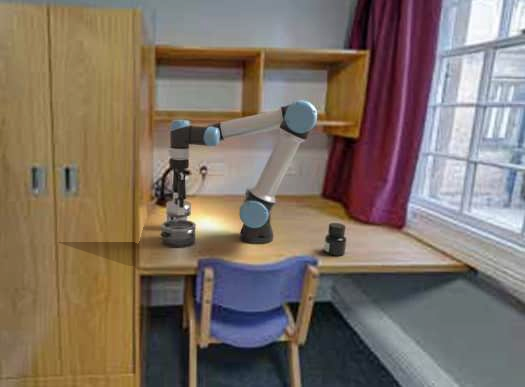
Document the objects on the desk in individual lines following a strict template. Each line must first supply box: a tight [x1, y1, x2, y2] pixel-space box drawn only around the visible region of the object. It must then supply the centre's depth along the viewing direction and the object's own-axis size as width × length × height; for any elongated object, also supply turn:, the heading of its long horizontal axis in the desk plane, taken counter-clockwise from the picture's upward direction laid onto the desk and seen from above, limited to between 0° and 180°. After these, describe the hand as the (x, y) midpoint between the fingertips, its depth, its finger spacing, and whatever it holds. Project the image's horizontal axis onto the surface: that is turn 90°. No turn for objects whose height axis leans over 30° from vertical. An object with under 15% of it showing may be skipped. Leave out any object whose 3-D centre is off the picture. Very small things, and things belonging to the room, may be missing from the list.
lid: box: [165, 198, 192, 218], centre depth 174 cm, size 10×10×6 cm
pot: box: [160, 219, 197, 249], centre depth 176 cm, size 18×14×8 cm
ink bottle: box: [323, 222, 347, 257], centre depth 174 cm, size 10×9×12 cm
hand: (178, 211), depth 174 cm, fingers closed on lid, 10 cm apart
